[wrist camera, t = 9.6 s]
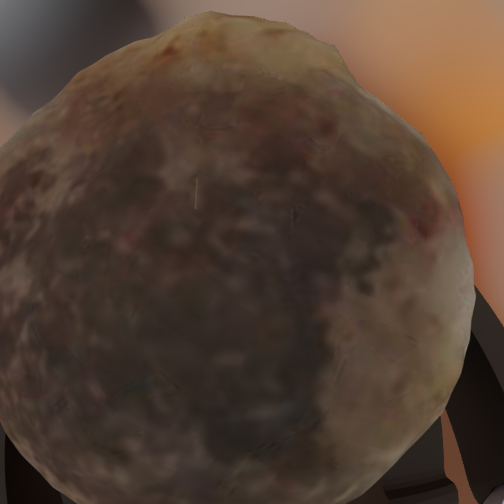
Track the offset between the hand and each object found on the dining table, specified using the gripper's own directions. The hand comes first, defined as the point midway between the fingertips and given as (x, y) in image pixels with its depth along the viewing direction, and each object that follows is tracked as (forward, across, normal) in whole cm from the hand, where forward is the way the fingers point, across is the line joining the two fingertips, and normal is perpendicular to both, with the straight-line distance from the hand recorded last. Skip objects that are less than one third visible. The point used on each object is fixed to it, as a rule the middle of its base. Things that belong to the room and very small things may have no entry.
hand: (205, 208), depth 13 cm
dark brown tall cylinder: (+4, 0, -9) cm, 10 cm away
